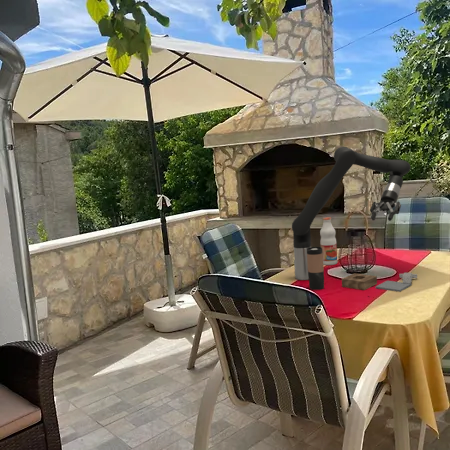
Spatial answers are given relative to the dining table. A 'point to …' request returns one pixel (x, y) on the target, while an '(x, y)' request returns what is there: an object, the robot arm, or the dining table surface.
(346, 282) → the socket block
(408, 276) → the t key
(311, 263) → the travel mug
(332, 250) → the fruit juice
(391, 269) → the dining table surface
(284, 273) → the dining table surface
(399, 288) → the grey mat
